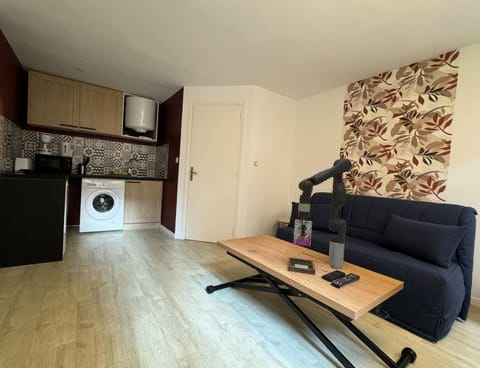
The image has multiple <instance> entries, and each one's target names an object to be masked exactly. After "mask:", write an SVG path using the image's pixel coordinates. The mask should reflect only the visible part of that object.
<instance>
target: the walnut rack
mask: <svg viewBox="0 0 480 368" xmlns="http://www.w3.org/2000/svg"><path fill="white" fill-rule="evenodd" d="M295 264H299V265H305V266H308V269H305V268H298V267H295ZM287 268H288V269H287V272H292V273H293V272H294V273H299V274H304V275H305V274H306V275H310V276H311V275H312V276H315V275H316V269H315V265H314V260H311V259H303V258H295V257H288V267H287Z"/></svg>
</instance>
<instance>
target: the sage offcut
mask: <svg viewBox="0 0 480 368" xmlns="http://www.w3.org/2000/svg"><path fill="white" fill-rule="evenodd" d="M294 267H298V268H305V269H309V268H308V266H305V265H299V264H295V266H294Z"/></svg>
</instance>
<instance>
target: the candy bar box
mask: <svg viewBox="0 0 480 368" xmlns="http://www.w3.org/2000/svg"><path fill="white" fill-rule="evenodd" d="M306 221H307V222H306V228H305V229H306V230H305V236H301V219H295V220H294V226H293V227H294V229H293V237H292V238H293V240H292V244H293V245H295V246H296V245H297V246H303V247H311V243H312V242H311V241H312V240H311V239H312V232H313V231H312V230H313V229H312V228H313V227H312V226H313V221H311V220H306ZM302 228H304V227H302Z"/></svg>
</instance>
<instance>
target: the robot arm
mask: <svg viewBox="0 0 480 368" xmlns="http://www.w3.org/2000/svg"><path fill="white" fill-rule="evenodd" d="M352 165H353V163H352V161H351V160H350V159H349V158H340V159H339V158H338V159H336V160H334V161H333V164H332V166H331V167H329V168H326V169H325V170H321V171H319V172H317V173H316V174H314V175H312V176H310V177H307V178H305V179H303V180H301V181H300V182H299V183H298V189H299V190H300V191H302V192H301V193H302V194H300V195H299V199H298V200H299V201H298V211H297V217H299V218H300V220H301V236H305V230H306V229H305V228H306V222H307V221H308V220H307V219H309V218H310V217H311V197H312V194H313V190H314V186H315V187H316V186H319V185H320V184H322V183H324V182H326V181H328V180H330V179H331V178H332V191H331V203H330V204H331V205H330V207H331V208H330V214H329V218H328V230H329V231H331V232H334V233H338V235H337V234H336V235H331V236H330V239H329V252H328V253H329V254H328V265H329V266H330V268H332V269H337V270H341V269H342V270H343V268H344V258H345V257H344V256H345V254H344V252H345V243H346V242H345V240H346V233H347V221H346V220H345V219H341V218H337V215H338V212H339V210H341V208H342V207H343V206H344V204H345V203H346V200H347V188H346V185H345V182H344V173H346V172H349V171H350V170H351V168H352ZM302 227H304V228H302Z"/></svg>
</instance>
